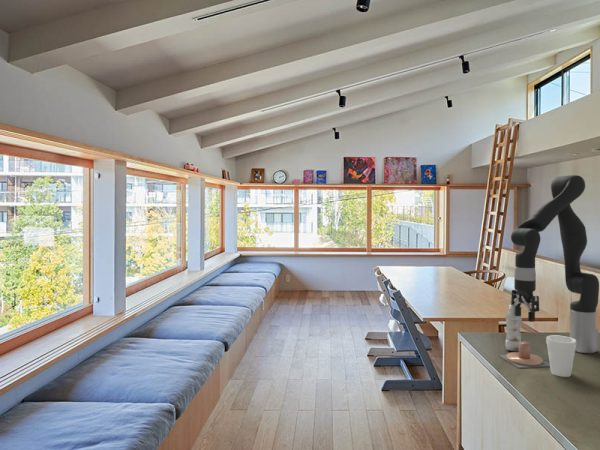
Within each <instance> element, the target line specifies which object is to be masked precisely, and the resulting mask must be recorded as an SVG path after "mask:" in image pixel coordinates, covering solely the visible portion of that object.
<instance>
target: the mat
mask: <svg viewBox="0 0 600 450" xmlns="http://www.w3.org/2000/svg"><path fill="white" fill-rule="evenodd" d="M497 357H499V358H501V359H502V360H504V361H506V362H507V363H509V364H511V365H512V366H513V367H516V368H517V369H529V368H530V369H531V368H545V367H548V368H550V362H547V361H545V360H543V364H541V365H538V366H525V365H520V364H516V363H513V362H510V361H509V360H507V354H498V355H497Z"/></svg>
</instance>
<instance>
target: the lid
mask: <svg viewBox="0 0 600 450" xmlns="http://www.w3.org/2000/svg"><path fill="white" fill-rule="evenodd" d="M506 355H507V360H509V361H510V362H513V363H516V364H520V365H525V366H538V365H541V364H543V358H542V357H541V356H540V355H537V354H533V353H531V343H530V342H529V341H525V340H523V341H522V340H521V341H520V342H519V351H511V352H508V353H506Z"/></svg>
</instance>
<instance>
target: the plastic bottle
mask: <svg viewBox="0 0 600 450" xmlns="http://www.w3.org/2000/svg"><path fill="white" fill-rule="evenodd" d="M508 309H509V310H508V311H507V312H506V313H505V323H506V338H505V341H504V345H505V348H506V350H507V351H511V352H519V342H520V341H522V340H521V339H522V338H521V329H522V321H523V317H522V315H521V316H515V306H514V304H511V303H509V304H508Z"/></svg>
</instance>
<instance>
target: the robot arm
mask: <svg viewBox="0 0 600 450" xmlns="http://www.w3.org/2000/svg"><path fill="white" fill-rule="evenodd" d="M550 190H551V196H552V199H551V200H548V201H547V202H546V203H545V202H544V204H542V205H540V206H539V207H538V208H537V209H535V211H534V212H533V213H532V215H531V216H530V217H529V218H527V220H525V221H523V222H522V223H521V224H519V225H518V226H516V227H515V228H514V229H513V231H512V233H511V235H510V239H511V242H512V243H513V244H514V245H515V246H520V247H524V249H523V251H518V252H516V253H515V264H514V266H515V268H514V280H513V282H514V283H513V284H514V289H512V290H511V300H510V304H514V306H515V316H522V305H524V306H525V307H526V308H527V310H528V314H527V315H528V316H527V318H528V322H531V323H533V322H535V320H536V313H537V312H540V297H539V295H534V292H535V291H536V289H537V287H536V285H537V284H536V283H537V281H536V279H537V278H536V277H537V274H536V273H537V272H536V256H537V253H538V249H539V246H540V243H541V234H540V233H541V232H544V231H545V230H546V228H547V227H548V226H549V225H550V224H551V222H552V221H553V220H554V219H555V218H556V217H557V221H558V225H559V226H558V227H559V235H560V240H561V245H562V253H563V260H564V274H565V275H564V277H565V278H564V279H565V286H566V288H567V290H568V291H569V292H571V293H574V294H579V295H580V297H579V300H575V301H571V302H570V307H569V315H570V316H569V337H570V338H573V339H575V340H576V348H575V352H578V353H580V354H581V353H584V354H593V353H594V354H595V353H596V352H598V351H599V346H598V345H599V329H598V328H597V307H598V304H599V295H600V294H599V293H600V281H599V278H598V277H597V276H596V275H595V274H592V273H588V272H582V271H581V257H582V255H583V253H584V252H585V250H586V247H587V245H588V237H587V230H586V226H585V224H584V222H583V221H582V220H581V219H580V217H579V216H578V215H577V214H576V213H575V212H574V210H573V208H572V207H571V204H572V203H573V202H574V201H575V200H577V199H578V198H580V197H581V195H582V194H584V191H585V190H586V182H585V179H584V178H583V177H582V176H581V175H577V174H576V175H575V174H572V175H561V176H560V175H559V176H555V177H554V178H553V179H552V180H551V184H550Z"/></svg>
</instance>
